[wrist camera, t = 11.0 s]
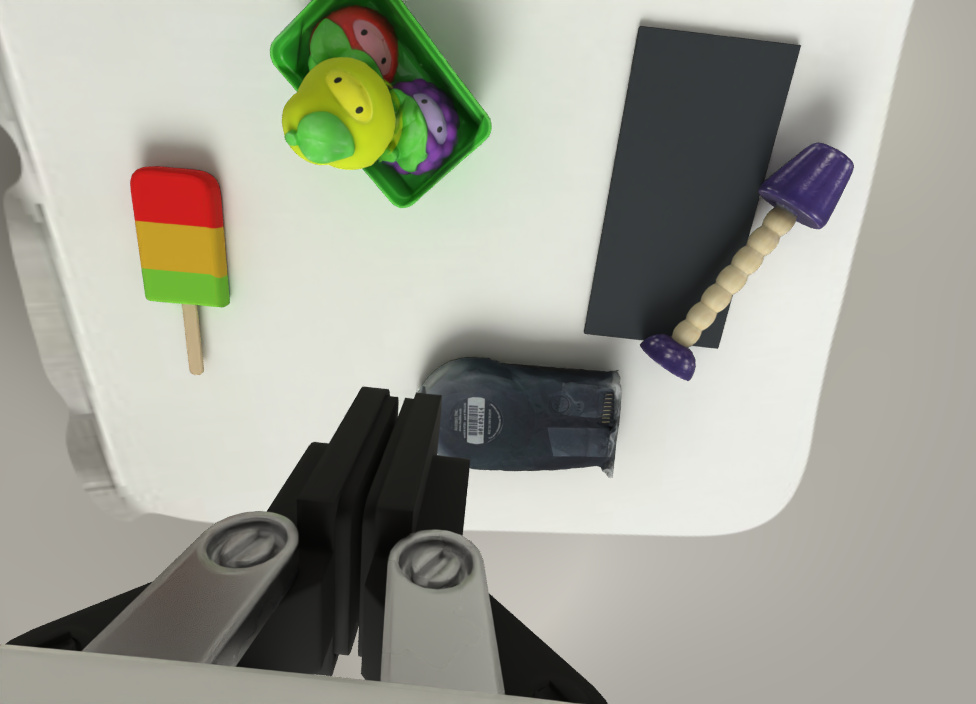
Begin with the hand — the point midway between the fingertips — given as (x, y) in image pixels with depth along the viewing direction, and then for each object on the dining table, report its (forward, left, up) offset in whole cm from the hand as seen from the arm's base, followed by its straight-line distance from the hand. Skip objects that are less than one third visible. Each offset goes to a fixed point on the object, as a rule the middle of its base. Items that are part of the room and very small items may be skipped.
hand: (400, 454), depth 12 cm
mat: (-4, +14, -29) cm, 33 cm away
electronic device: (+13, +5, -29) cm, 32 cm away
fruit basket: (-8, -6, -29) cm, 31 cm away
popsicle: (+5, -20, -29) cm, 36 cm away
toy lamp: (+7, +15, -27) cm, 31 cm away
